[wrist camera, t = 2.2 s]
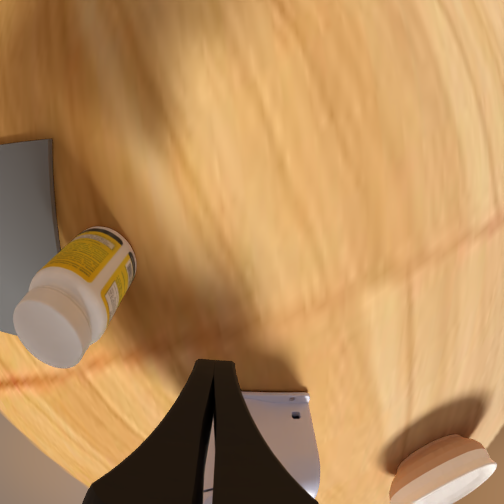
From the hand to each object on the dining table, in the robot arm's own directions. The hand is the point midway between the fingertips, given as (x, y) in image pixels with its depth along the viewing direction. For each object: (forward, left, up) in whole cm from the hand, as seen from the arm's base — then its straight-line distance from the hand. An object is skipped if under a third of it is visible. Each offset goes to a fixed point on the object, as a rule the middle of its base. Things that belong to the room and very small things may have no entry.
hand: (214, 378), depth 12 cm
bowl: (-30, +29, -10) cm, 43 cm away
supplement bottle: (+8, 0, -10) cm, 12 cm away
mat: (+16, 0, -9) cm, 19 cm away
